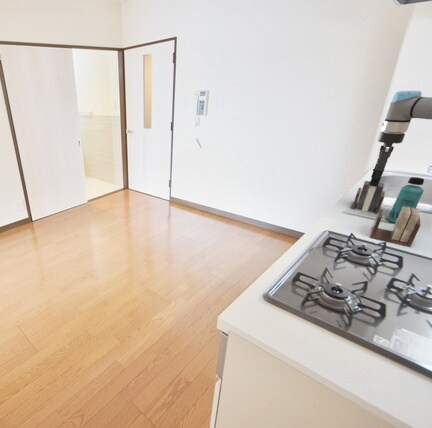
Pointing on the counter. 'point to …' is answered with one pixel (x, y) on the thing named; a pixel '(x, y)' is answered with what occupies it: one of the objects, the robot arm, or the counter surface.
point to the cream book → (368, 198)
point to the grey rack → (375, 200)
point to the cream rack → (399, 227)
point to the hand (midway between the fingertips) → (374, 181)
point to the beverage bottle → (407, 197)
